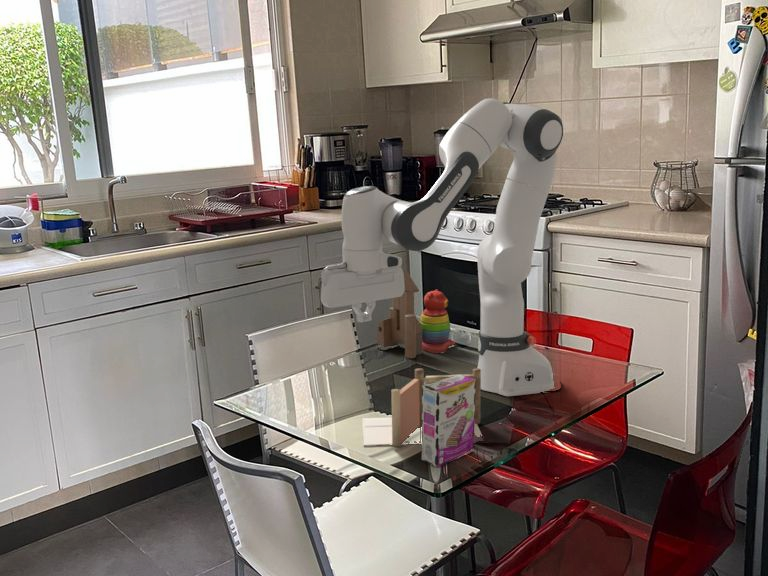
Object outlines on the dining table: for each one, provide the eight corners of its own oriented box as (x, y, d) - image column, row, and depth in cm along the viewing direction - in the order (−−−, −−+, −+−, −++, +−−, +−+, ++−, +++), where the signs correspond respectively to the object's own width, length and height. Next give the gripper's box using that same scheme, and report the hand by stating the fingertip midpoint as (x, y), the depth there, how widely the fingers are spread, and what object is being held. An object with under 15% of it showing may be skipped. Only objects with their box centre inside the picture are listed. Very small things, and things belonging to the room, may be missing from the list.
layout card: (472, 415, 180) (472, 414, 180) (485, 443, 165) (485, 441, 165) (362, 420, 179) (362, 418, 179) (364, 448, 164) (364, 446, 164)
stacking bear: (442, 354, 228) (442, 296, 224) (412, 350, 233) (412, 292, 229) (458, 345, 237) (458, 289, 233) (429, 341, 242) (429, 286, 238)
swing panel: (413, 424, 174) (412, 373, 171) (420, 425, 173) (420, 374, 170) (390, 445, 163) (390, 391, 160) (398, 447, 162) (397, 392, 160)
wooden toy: (375, 348, 235) (373, 268, 230) (391, 344, 239) (390, 265, 234) (410, 359, 224) (409, 275, 218) (426, 354, 228) (426, 272, 223)
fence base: (479, 422, 177) (480, 366, 174) (481, 425, 175) (481, 369, 172) (414, 424, 176) (414, 368, 173) (415, 428, 174) (415, 371, 171)
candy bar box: (437, 469, 153) (437, 391, 150) (420, 461, 157) (420, 384, 154) (476, 452, 161) (476, 378, 157) (458, 445, 164) (459, 372, 161)
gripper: (328, 268, 162) (330, 331, 165) (407, 257, 173) (408, 317, 176) (314, 263, 167) (316, 325, 170) (392, 253, 178) (393, 311, 181)
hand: (364, 321), depth 173 cm, fingers closed
